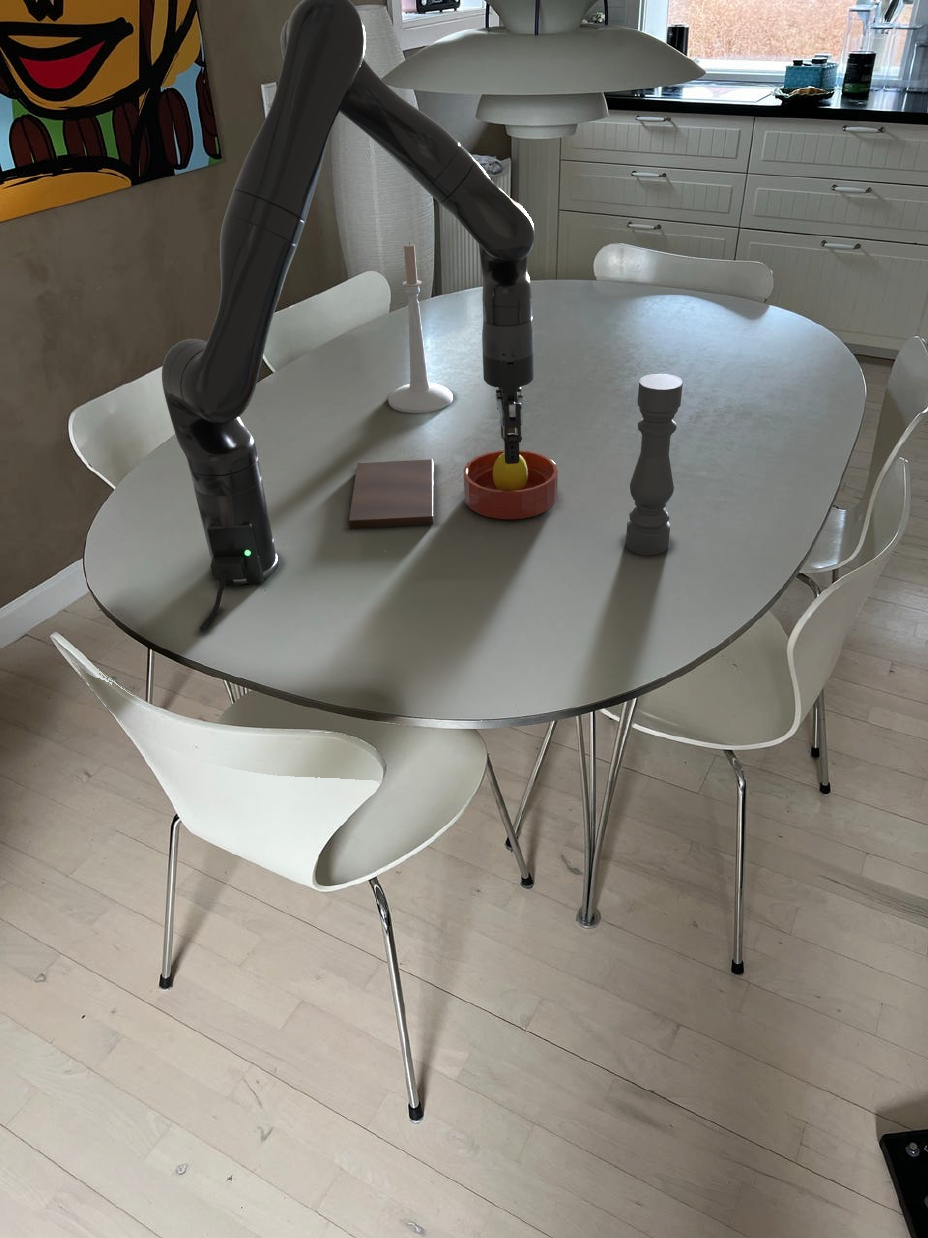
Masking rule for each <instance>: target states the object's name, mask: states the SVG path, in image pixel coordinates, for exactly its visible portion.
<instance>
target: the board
mask: <svg viewBox="0 0 928 1238" xmlns="http://www.w3.org/2000/svg"><path fill="white" fill-rule="evenodd" d="M353 483H354V484H353V490H352V497H351V502H350V503H351V504H350V511H349V516H348V524H349V529H350V530H351V529H352V530H353V529H374V528H390V527H391V528H393V527H411V526H412V527H413V526H431V525H434V460H433V458H432V459H416V460H415V459H413V460H412V459H411V460H393V461H391V460H390V461H375V462H373V461H371V462H357V464H356V470H355V476H354V482H353Z"/></svg>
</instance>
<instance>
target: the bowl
mask: <svg viewBox="0 0 928 1238" xmlns="http://www.w3.org/2000/svg"><path fill="white" fill-rule="evenodd" d="M503 453H505V449H501V450H495V451H490V452H485V453H483V454H481V455H477V456H475V457H473V458H472V459H471V460H470V461H468V462H467V463H466V465H465V466H464V468H463V470H462V471H463V485H464V486H463V491H464V493H463V494H464V503H465V504H466V505H467V506H468V508H469V509H470V510H471V511H473V512H475V513H477V514H478V515H481V516H484V517H488V518H491V519H499V520H500V519H501V520H522V519H527V518H532V517H536V516H538V515H540V514H542V513H545V512H547V511H548V510H549V509H550V508H552V507H553V506H554V505H555V504H556V501H557V499H558V482H559V481H558V480H559V479H558V477H559V474H558V473H559V471H558V466H557V464H556V463H555V462H554V461H553V460H552V459H551V458H549V457H547V456H546V455H543V454H541V453H538V452H534V451H530V450H523V449H519V455H521V456H522V457H523V459H524V460H525V462H526V465H527V471H528V479H527V483H526V485H525V487H524V489H523V490H513V491H503V490H498V489H497V488H496V486H495V483H494V480H493V468H494V464H495V461H496V460H497V458H498V457H499V456H500V455H501V454H503Z"/></svg>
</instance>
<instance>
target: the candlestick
mask: <svg viewBox="0 0 928 1238" xmlns="http://www.w3.org/2000/svg"><path fill="white" fill-rule="evenodd" d="M403 252H404V253H403V254H404V264H405V266H404V268H405V280H404V281H402V285H403V286H404V287H405V294H407V297H408V302H407V305H408V306H407V307H408V338H409V339H408V340H409V341H408V343H409V344H408V345H409V379H410V380H409V384H404V385H402V386H399V387H397V388H396V389H394V391H392V393H390V395H389V396H388V398H387V399H388V400H387V401H388V405H389V406H390V408H392V409H393V410H396V411H398V412H401V413H410V414H424V413H431V412H435V411H439V410H442V409H445V408H446V407H448V406H449V405H450V404H452V402H453V400H454V399H453V398H454V396H453V392H452V391H450V390H449V388H447V387H445V386H443V385H441V384H438V383H435V382H430V381H429V375H428V368H427V359H426V352H425V344H424V334H423V327H422V317H421V310H420V309H421V308H420V302H419V300H418V296H419V294H420V292H421V289H420V286H421V284H422V283H423V282H422V280H419V279H418V271H417V259H416V245H415V243H410V242H408V243H406V244H403Z"/></svg>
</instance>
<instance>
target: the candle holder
mask: <svg viewBox="0 0 928 1238" xmlns="http://www.w3.org/2000/svg"><path fill="white" fill-rule="evenodd" d="M683 384H684V381H683V379H681V378H680V376H676V375H673V374H669V373H651V374H646V375H644V376H642V377H640V379H639V380H638V391H637V406H638V409H639V410H638V411H639V413H640V414H641V417H642V418H641V419H640V420H639V421H638V422H637V430H638V431H639V432H640V434H641V441H640V443H641V444H640V452H639V455H638V459H637V462H636V465H635V468H634V471H633V474H632V477H631V480H630V482H629V490H630V491H629V492H630V496H631V498H632V499H633V500H634V507H633V509H632V510H631V511H630V512H629V514H628V516H629V520H628V521H627V523H626V534H625V535H626V536H625V547H626V548H627V549H628V551H630V552H632V553H634V554H636V555H641V556H656V555H661V554H662V553H664V552H666V551H667V549H668V548H669V543H670V542H669V541H670V534H671V533H670V532H671V525H670V522H669V521H670V513H669V512H668V511H667V509H666V508H665V507H667V503H668V502H669V500H670V499H671V498H672V496H673V494H674V492H675V491H674V490H675V485H674V479H673V473H672V467H671V460H670V446H671V436H672V435H673V434H674V433H675V432H676V430H677V429H678V428H677V427H678V425H677V422H676V421H674V420H673V419H674V418H675V416H676V415H677V413H678V411H679V408H680V407H681V406H682V405H681V403H682V393H683Z"/></svg>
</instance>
